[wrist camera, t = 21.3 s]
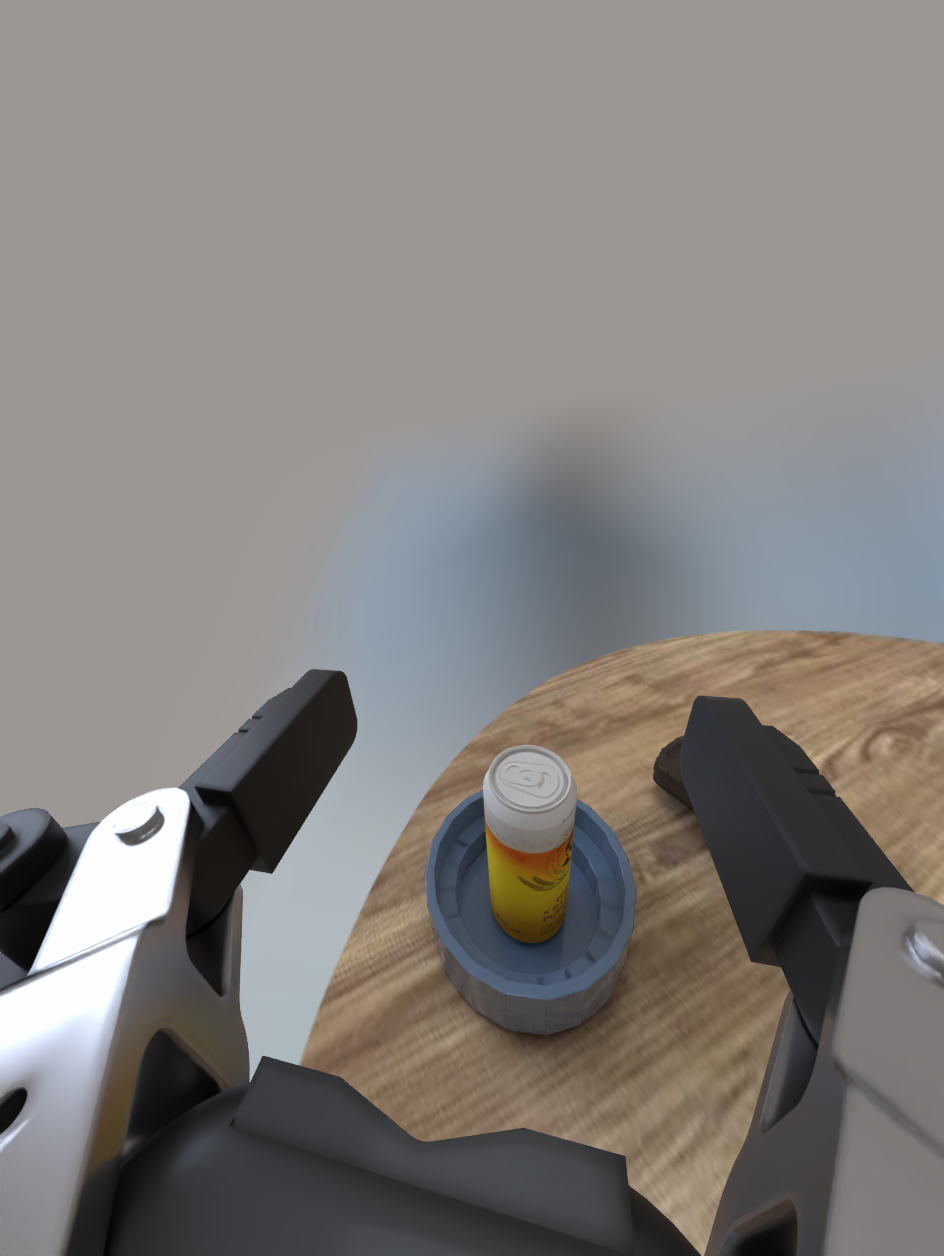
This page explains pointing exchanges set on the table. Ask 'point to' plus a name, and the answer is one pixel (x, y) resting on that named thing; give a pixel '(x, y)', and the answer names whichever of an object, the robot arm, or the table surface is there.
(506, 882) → the beer can
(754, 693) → the table surface
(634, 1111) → the table surface
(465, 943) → the blue bowl
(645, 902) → the table surface
